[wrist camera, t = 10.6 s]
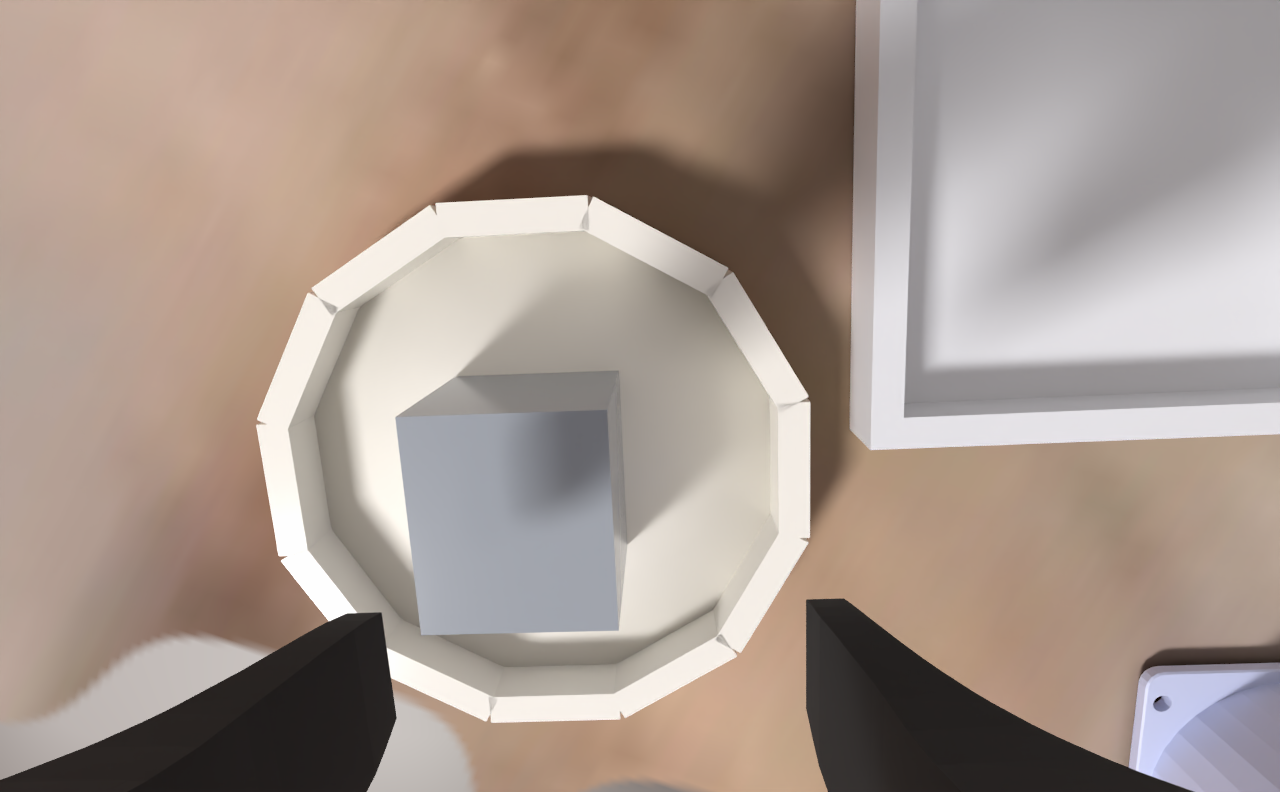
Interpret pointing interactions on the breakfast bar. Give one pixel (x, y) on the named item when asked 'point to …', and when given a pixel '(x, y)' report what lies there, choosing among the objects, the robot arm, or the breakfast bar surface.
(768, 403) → the bowl
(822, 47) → the breakfast bar surface
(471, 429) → the block
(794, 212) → the breakfast bar surface
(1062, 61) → the parts tray
